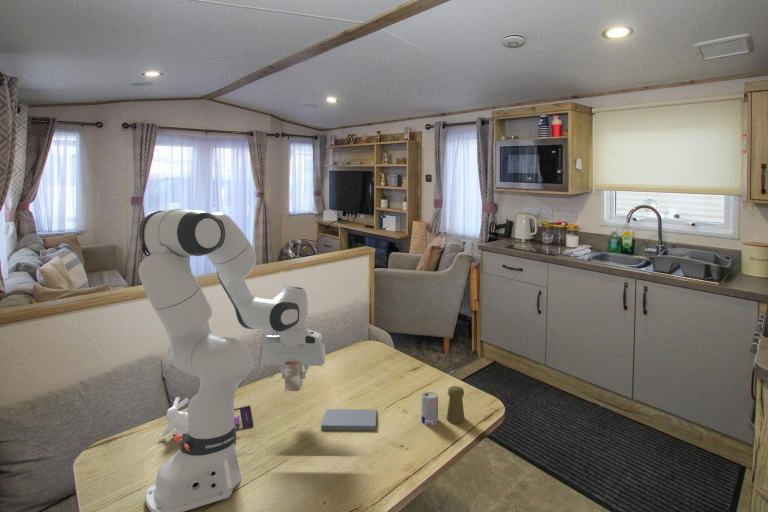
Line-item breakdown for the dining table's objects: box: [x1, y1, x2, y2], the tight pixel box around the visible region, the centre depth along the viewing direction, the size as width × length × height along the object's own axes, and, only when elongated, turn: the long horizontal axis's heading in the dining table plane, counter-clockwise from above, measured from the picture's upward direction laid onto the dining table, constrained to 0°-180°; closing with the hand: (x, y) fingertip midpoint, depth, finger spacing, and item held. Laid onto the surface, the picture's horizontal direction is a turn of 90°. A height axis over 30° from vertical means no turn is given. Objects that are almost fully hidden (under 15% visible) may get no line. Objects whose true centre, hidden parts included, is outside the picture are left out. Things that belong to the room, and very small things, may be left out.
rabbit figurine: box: [158, 396, 189, 437], centre depth 132 cm, size 12×8×10 cm, turn 97°
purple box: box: [234, 405, 254, 431], centre depth 135 cm, size 7×5×9 cm
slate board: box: [320, 408, 378, 431], centre depth 138 cm, size 17×12×2 cm
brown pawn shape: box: [446, 385, 466, 425], centre depth 139 cm, size 6×6×11 cm
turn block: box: [284, 362, 304, 392], centre depth 137 cm, size 4×6×9 cm
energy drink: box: [421, 391, 439, 427], centre depth 139 cm, size 5×5×12 cm
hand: (294, 378), depth 137 cm, fingers closed on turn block, 4 cm apart
